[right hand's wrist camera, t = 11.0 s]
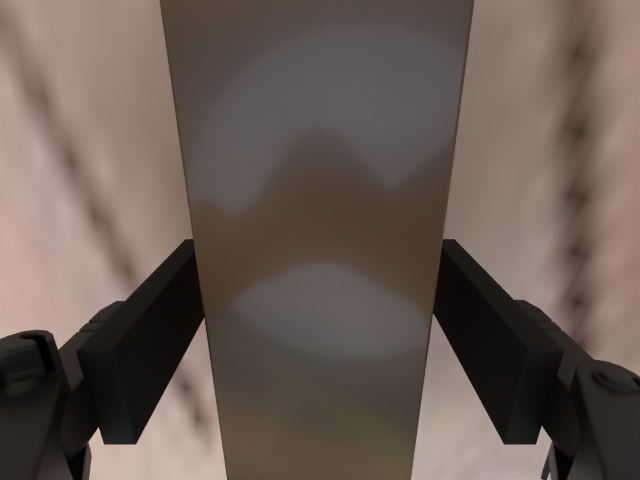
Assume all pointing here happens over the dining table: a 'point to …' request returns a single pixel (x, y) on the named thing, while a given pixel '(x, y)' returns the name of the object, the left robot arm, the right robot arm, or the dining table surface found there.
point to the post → (317, 218)
